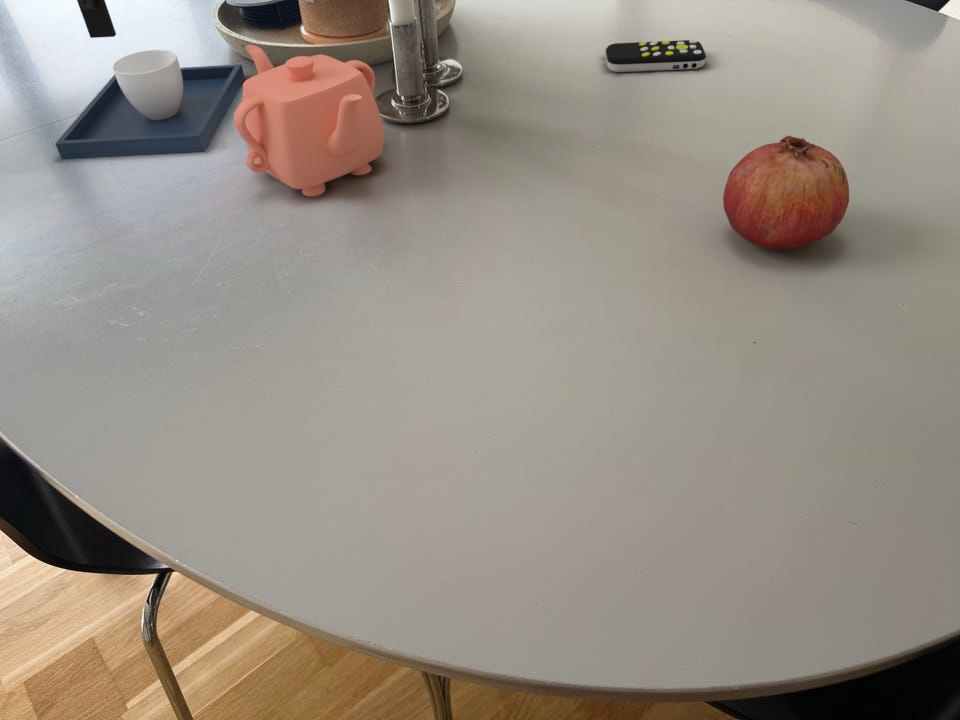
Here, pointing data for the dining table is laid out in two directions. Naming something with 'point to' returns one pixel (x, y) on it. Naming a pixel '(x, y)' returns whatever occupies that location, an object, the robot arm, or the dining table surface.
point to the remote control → (655, 56)
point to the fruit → (786, 194)
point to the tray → (128, 132)
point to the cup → (151, 82)
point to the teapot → (309, 120)
